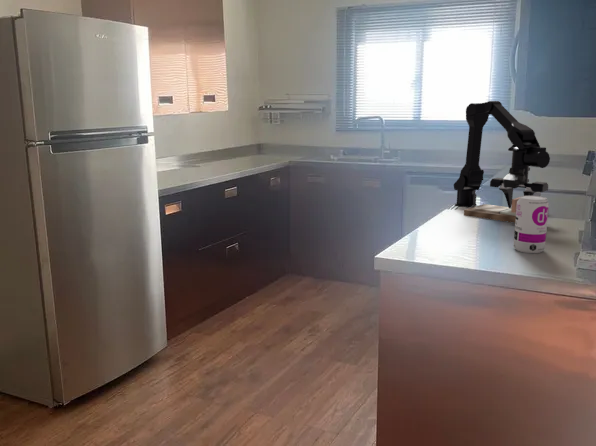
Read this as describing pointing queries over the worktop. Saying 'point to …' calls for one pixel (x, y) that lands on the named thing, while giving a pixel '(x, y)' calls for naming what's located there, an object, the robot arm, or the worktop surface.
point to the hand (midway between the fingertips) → (516, 208)
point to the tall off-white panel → (513, 209)
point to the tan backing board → (490, 212)
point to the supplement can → (531, 224)
